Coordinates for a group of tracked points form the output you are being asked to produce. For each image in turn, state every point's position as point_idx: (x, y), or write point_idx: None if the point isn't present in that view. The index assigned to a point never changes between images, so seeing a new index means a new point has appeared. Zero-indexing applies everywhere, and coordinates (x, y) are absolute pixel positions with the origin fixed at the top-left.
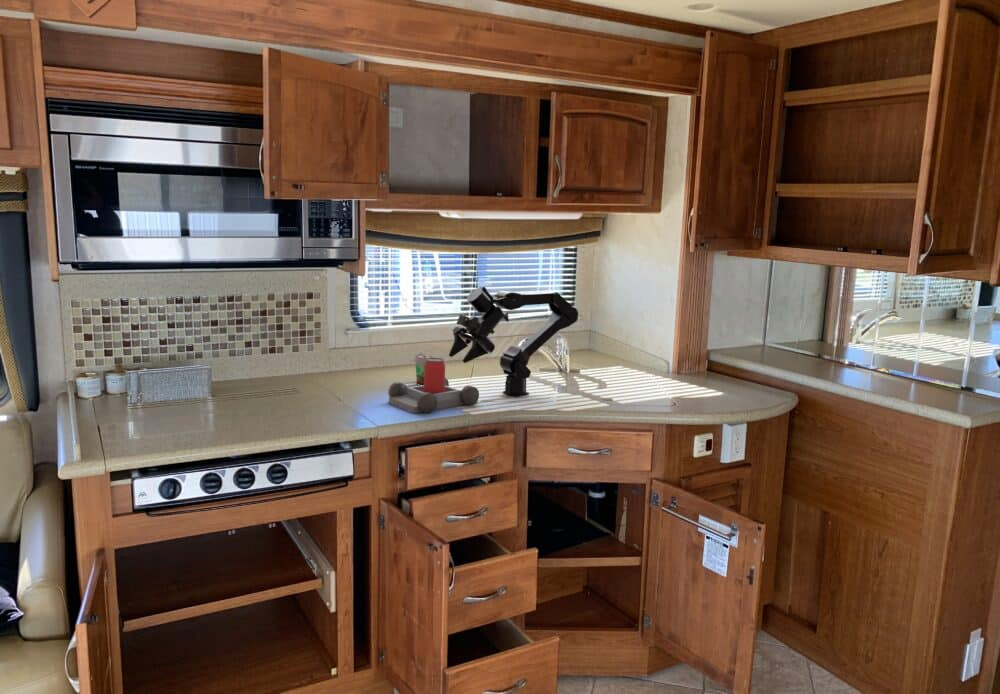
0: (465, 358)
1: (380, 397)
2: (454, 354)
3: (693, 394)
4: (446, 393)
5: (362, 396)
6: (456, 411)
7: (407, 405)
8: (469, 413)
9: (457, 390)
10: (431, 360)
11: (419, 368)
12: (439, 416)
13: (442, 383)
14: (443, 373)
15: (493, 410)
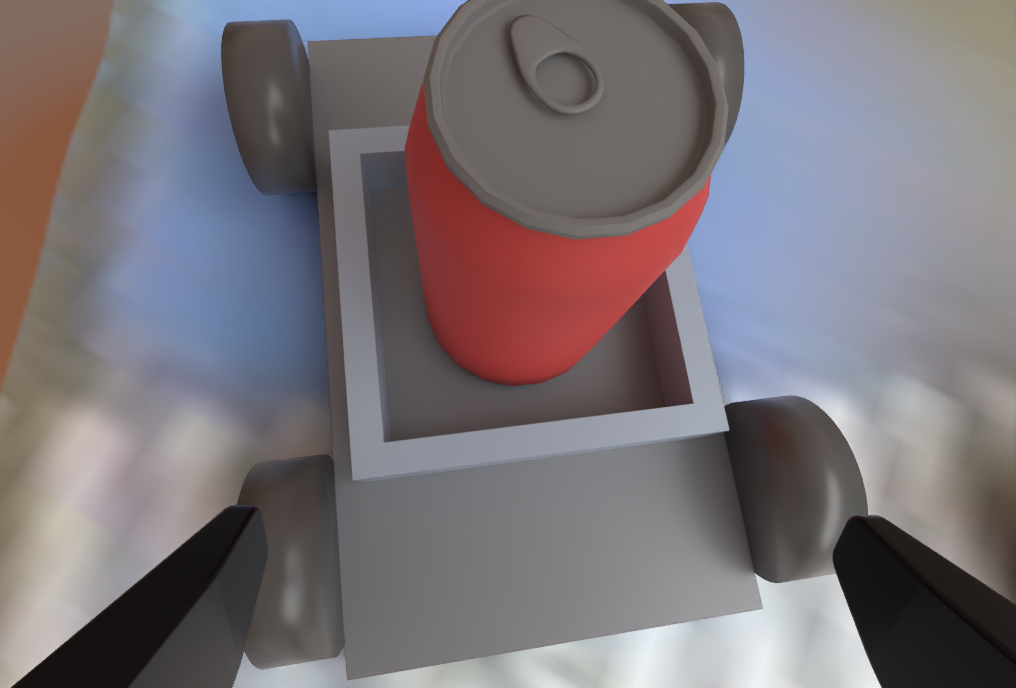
0: (171, 558)
1: (790, 84)
2: (873, 651)
3: None
4: (341, 308)
5: (846, 10)
6: (206, 347)
7: (397, 42)
8: (94, 407)
9: (367, 448)
10: (537, 18)
11: None
12: (160, 175)
13: (427, 288)
14: (425, 256)
15: (44, 656)
